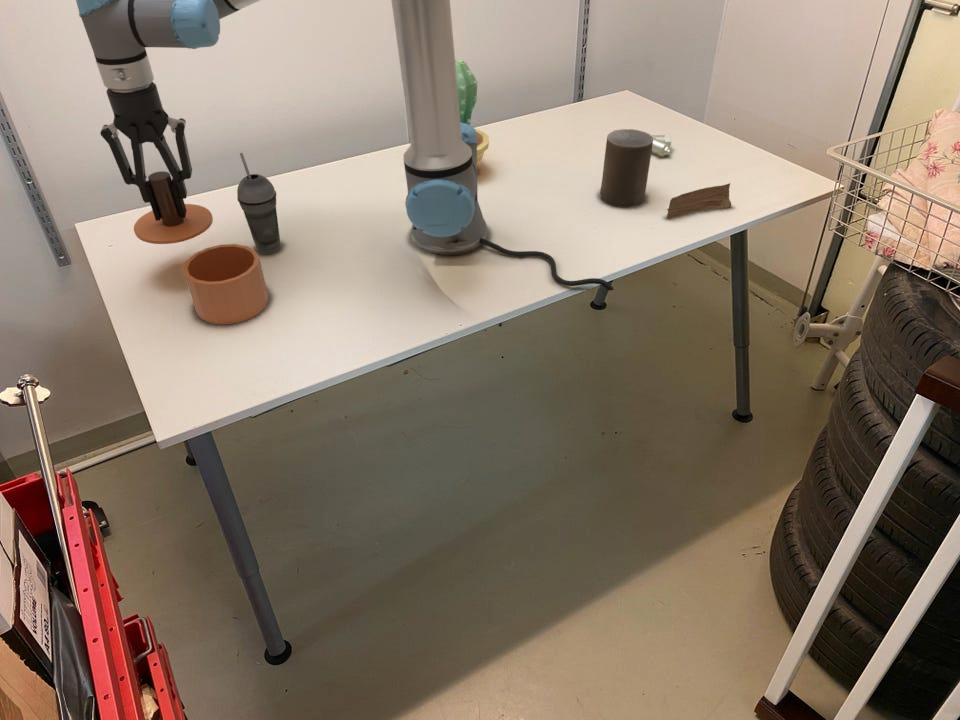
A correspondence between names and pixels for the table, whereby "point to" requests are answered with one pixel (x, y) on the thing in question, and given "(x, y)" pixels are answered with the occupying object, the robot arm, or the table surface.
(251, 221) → the beverage cup
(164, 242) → the lid
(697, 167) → the table surface
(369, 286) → the table surface
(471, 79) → the potted cactus
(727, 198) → the wood plank
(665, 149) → the pipe fitting
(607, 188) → the pillar candle
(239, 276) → the canister
